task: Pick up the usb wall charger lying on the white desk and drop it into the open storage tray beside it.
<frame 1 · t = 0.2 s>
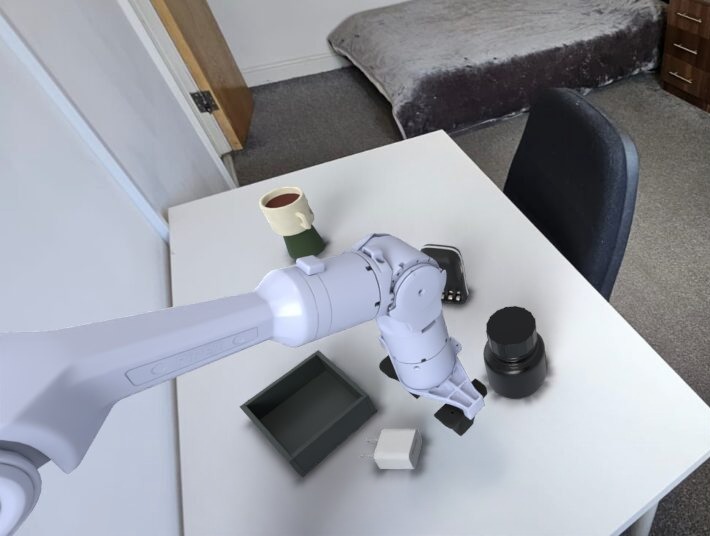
hand: (443, 409, 56), 11 cm above the table, tool pointing down, fingers open, 7 cm apart
usb wall charger: (393, 456, 62), on the table
battery charger: (448, 299, 83), on the table
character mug: (308, 251, 91), on the table
open storage tray: (316, 417, 66), on the table
ink bottle: (517, 374, 72), on the table
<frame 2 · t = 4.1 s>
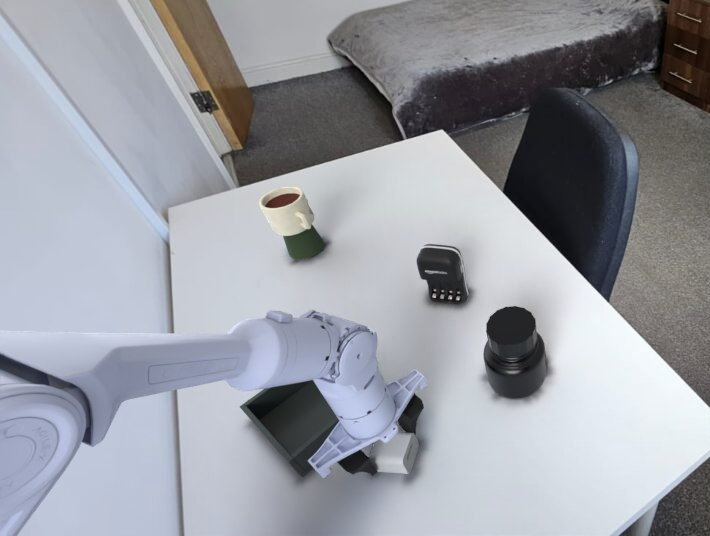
hand: (390, 450, 61), 1 cm above the table, tool pointing down, fingers closed on usb wall charger, 5 cm apart
usb wall charger: (389, 458, 62), on the table, touching gripper
everything else where it was.
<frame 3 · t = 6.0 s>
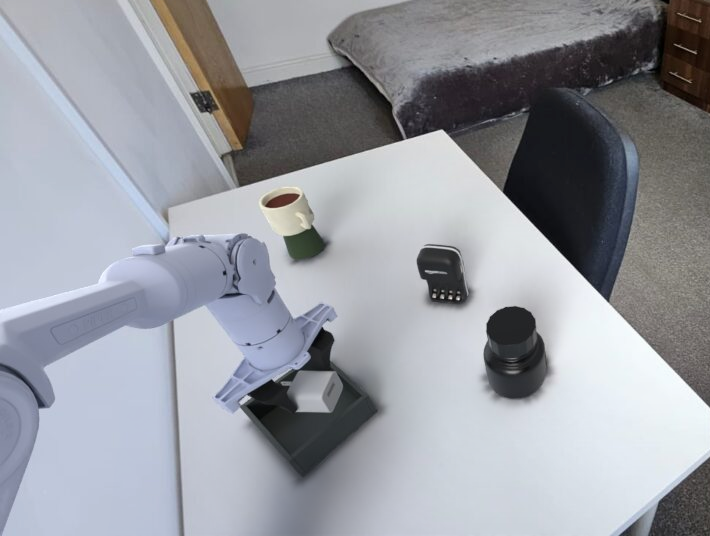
hand: (307, 390, 60), 8 cm above the table, tool pointing down, fingers closed on usb wall charger, 5 cm apart
usb wall charger: (311, 400, 61), point 7 cm above the table, touching gripper
everything else where it was.
when the fingers open (2 cm above the table, at t = 8.4 s): usb wall charger stays where it is, resting on open storage tray.
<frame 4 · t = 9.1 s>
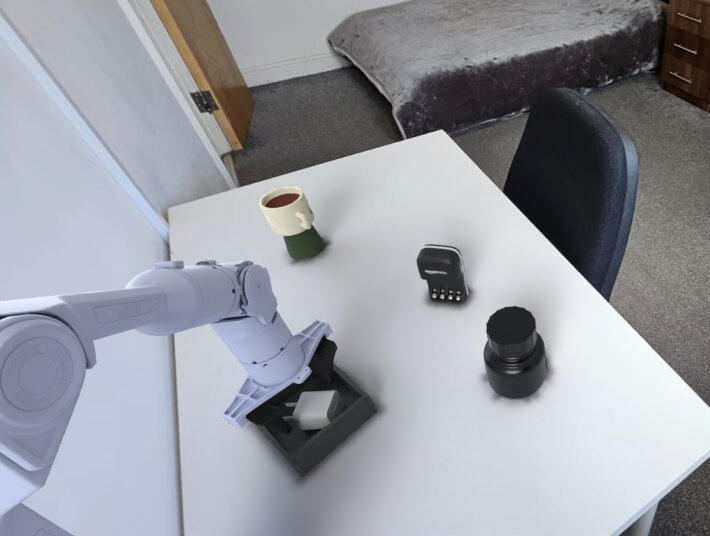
hand: (306, 403, 64), 4 cm above the table, tool pointing down, fingers open, 7 cm apart
usb wall charger: (315, 418, 66), resting on open storage tray
everything else where it was.
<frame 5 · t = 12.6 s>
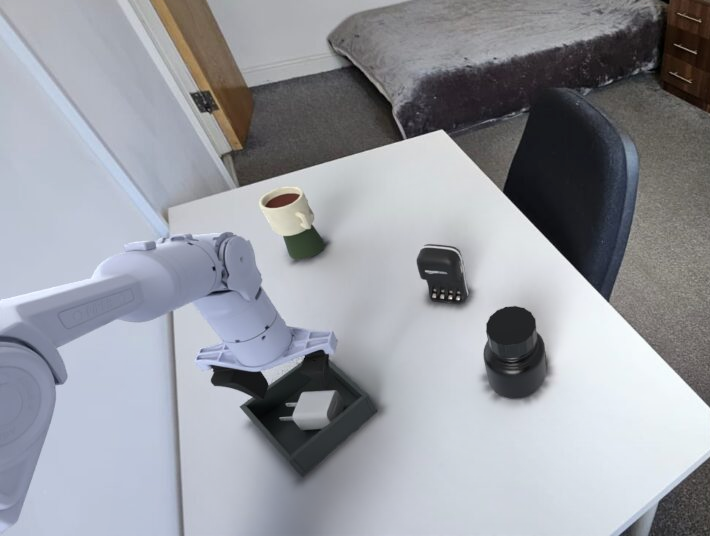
hand: (295, 387, 61), 8 cm above the table, tool pointing down, fingers open, 7 cm apart
nothing on the table moved.
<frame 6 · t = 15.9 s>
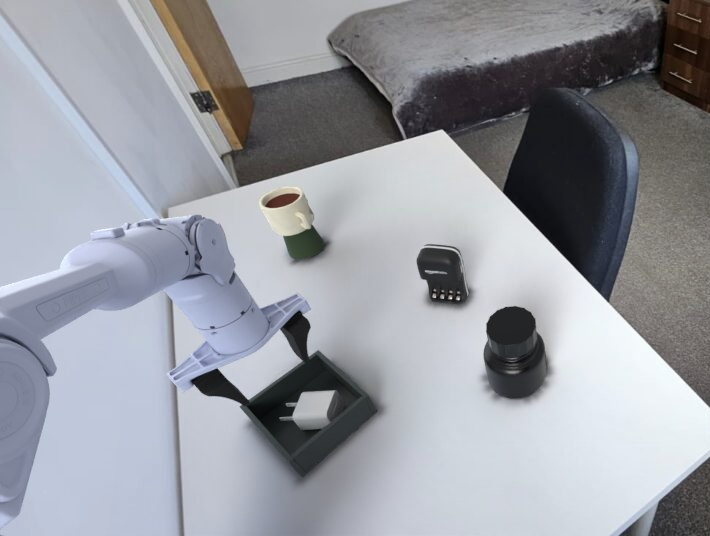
hand: (274, 377, 60), 9 cm above the table, tool pointing down, fingers open, 7 cm apart
nothing on the table moved.
at the end: usb wall charger inside the target area in the open storage tray (0.4 cm from its centre), point 0.3 cm above the open storage tray's base; the gripper is holding nothing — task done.
